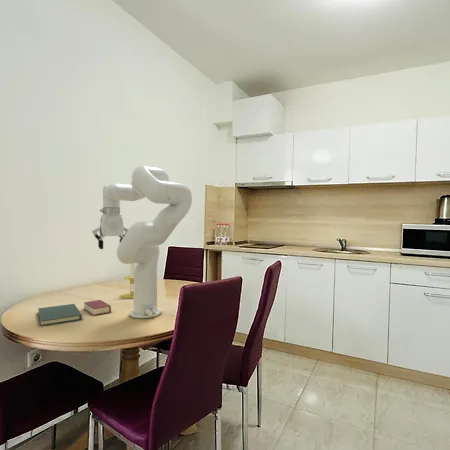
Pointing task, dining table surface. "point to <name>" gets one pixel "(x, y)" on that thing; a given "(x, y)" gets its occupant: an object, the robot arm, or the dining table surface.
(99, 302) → the burgundy book
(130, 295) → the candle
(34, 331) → the dining table surface
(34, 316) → the dining table surface
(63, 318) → the green book
